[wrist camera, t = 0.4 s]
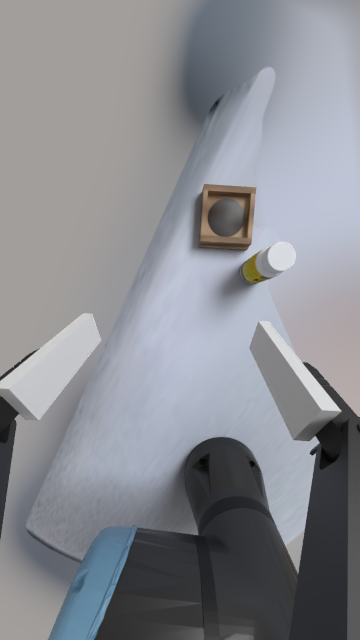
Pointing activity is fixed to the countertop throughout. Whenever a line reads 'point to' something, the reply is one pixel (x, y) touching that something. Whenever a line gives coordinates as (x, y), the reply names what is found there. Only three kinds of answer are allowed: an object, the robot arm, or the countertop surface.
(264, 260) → the supplement bottle
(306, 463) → the countertop surface
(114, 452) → the countertop surface
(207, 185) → the dock board
